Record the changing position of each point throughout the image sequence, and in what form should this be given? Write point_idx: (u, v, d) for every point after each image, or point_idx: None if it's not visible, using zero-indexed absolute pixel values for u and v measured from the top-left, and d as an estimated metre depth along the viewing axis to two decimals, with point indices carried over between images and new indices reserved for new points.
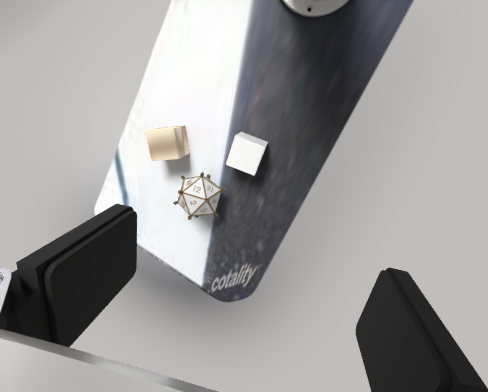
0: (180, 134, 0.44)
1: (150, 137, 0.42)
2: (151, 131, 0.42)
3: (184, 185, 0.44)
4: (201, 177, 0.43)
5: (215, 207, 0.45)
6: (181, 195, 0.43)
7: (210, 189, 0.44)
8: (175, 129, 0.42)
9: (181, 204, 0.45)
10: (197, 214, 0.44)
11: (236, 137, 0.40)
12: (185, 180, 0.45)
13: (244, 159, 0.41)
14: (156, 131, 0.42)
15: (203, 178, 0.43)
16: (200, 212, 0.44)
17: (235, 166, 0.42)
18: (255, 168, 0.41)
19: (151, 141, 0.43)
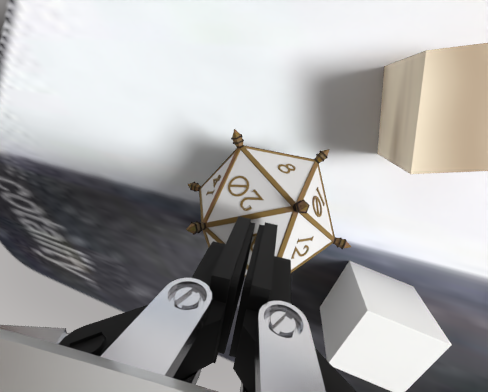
0: None
1: None
2: None
3: (309, 189, 0.12)
4: (332, 241, 0.13)
5: None
6: (281, 197, 0.11)
7: None
8: None
9: (237, 174, 0.12)
10: (209, 239, 0.13)
11: (444, 345, 0.14)
12: (316, 173, 0.13)
13: (375, 352, 0.15)
14: None
15: None
16: None
17: (359, 331, 0.15)
18: (347, 369, 0.16)
19: None
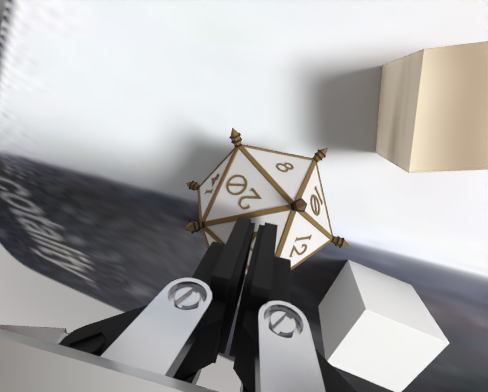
0: None
1: None
2: None
3: (308, 188, 0.12)
4: (330, 239, 0.13)
5: None
6: (279, 196, 0.11)
7: None
8: None
9: (236, 173, 0.12)
10: (207, 238, 0.13)
11: (442, 344, 0.15)
12: (314, 172, 0.13)
13: (373, 350, 0.16)
14: None
15: None
16: None
17: (357, 329, 0.15)
18: (345, 367, 0.16)
19: None
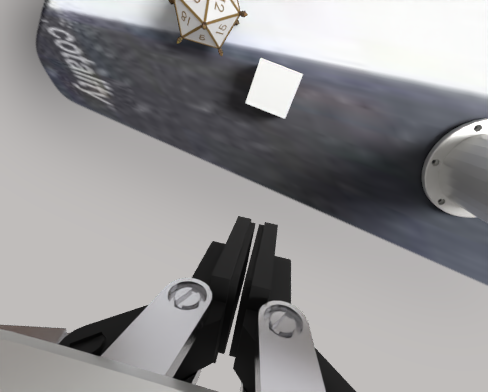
0: None
1: None
2: None
3: None
4: (238, 12, 0.27)
5: (191, 38, 0.29)
6: None
7: (220, 30, 0.28)
8: None
9: None
10: (176, 4, 0.26)
11: (300, 75, 0.28)
12: None
13: (268, 88, 0.29)
14: None
15: (236, 16, 0.27)
16: (180, 11, 0.26)
17: (258, 74, 0.29)
18: (255, 104, 0.30)
19: None
